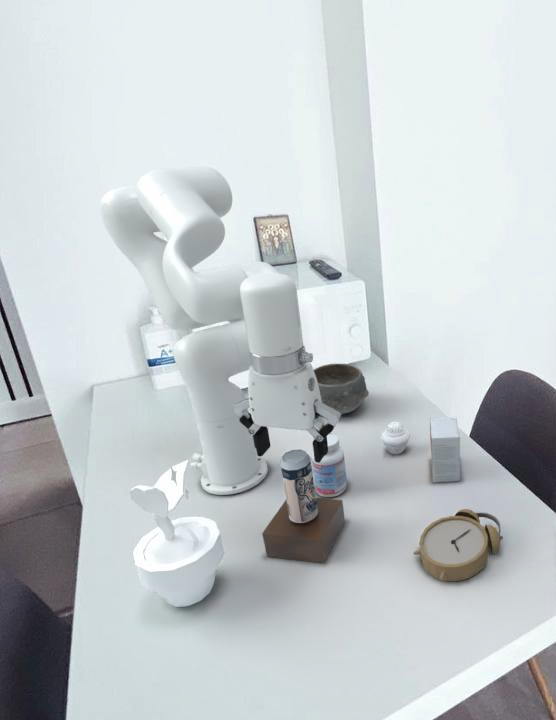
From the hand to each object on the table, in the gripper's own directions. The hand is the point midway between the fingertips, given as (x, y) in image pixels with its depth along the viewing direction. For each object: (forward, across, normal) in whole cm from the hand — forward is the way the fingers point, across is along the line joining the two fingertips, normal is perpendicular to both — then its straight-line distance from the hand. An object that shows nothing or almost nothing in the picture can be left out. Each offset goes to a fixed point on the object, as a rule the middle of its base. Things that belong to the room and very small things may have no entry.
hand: (292, 454), depth 88 cm
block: (+17, -1, +1) cm, 17 cm away
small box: (+17, -21, -22) cm, 35 cm away
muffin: (+17, -9, -28) cm, 34 cm away
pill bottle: (+17, 0, -13) cm, 22 cm away
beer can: (+12, -1, 0) cm, 12 cm away
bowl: (+18, +10, -44) cm, 49 cm away
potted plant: (+17, +12, +14) cm, 25 cm away
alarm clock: (+17, -28, 0) cm, 32 cm away
